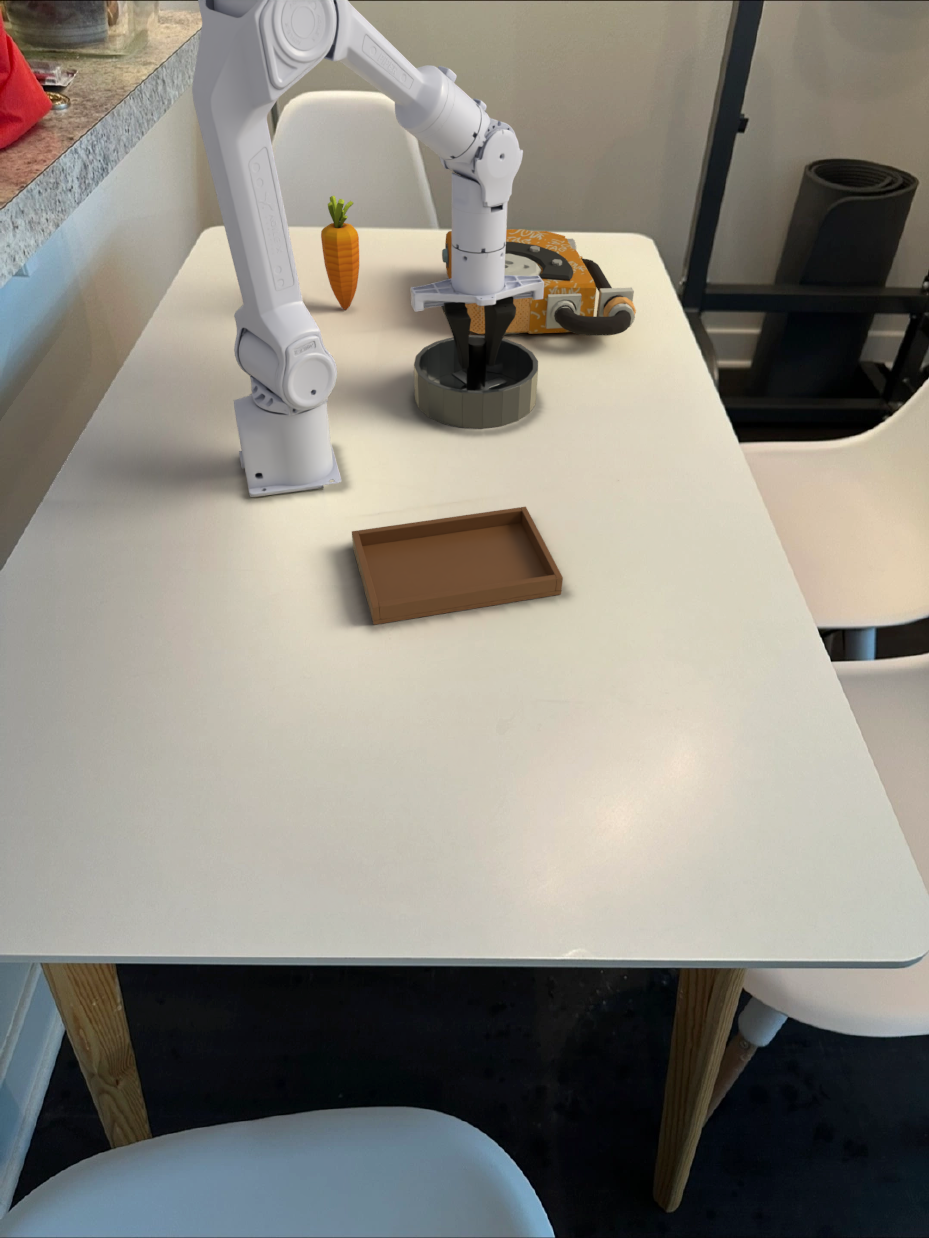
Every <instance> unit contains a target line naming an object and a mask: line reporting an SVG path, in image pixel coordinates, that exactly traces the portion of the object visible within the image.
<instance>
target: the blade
mask: <svg viewBox="0 0 929 1238" xmlns="http://www.w3.org/2000/svg"><path fill="white" fill-rule="evenodd" d="M468 348H469V367H468V368H467V374H466V373H465V372H463V371H462V370H461V371H458V372H455V373H452V376H453V377H455V378H456V379H458V380H459V381H460V382H462V383H463V384H465V385H463V386H462V387H461V389H460V390H471V391H486V390H491V389H493V388H496V387H499V386H502V385H505V384H507V382H506V381H505V380H503V379H502V378H500V377H499V378H496V379H493V380H490V381H487V382H485V375H486V340H485V339H483V338H479V337H474V338H470V339H469V342H468Z"/></svg>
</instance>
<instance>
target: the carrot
mask: <svg viewBox="0 0 929 1238" xmlns="http://www.w3.org/2000/svg"><path fill="white" fill-rule="evenodd" d="M353 205H354V201H352V200H350V201H348V202H347V203H346V204H345V199H343V198H338V201H337V197H336V195H331V196H330V197H329V202H327V209H328V212H329V215H330V218H331V219H332V222H331V223H329V224H328V225H326V226H324V227H323V228H322V229H321V232H320V239H321V247H322V248H321V249H322V255H323V262H324V268H325V272H326V275H327V279H328V282H329V286H330V289H331V290H332V293H333V295H334V298H335V299H336V300H337V302H338V304H339V305H340V307H341V308H342V309H343V310H344V311H347V310H348V309H349V308H350V307H351V304H352V302H353V300H354V299H355V294H356V292H357V288H358V281H359V272H360V237H359V233H358V231H357V230H356V229H357V228H355V227H354V226H353V225H352V224H351V223H347V222H346V221H347V219H348V218H349V216H348V215H346V214H347V212H348V210H349V209H350V208H351V207H352V206H353Z"/></svg>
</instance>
